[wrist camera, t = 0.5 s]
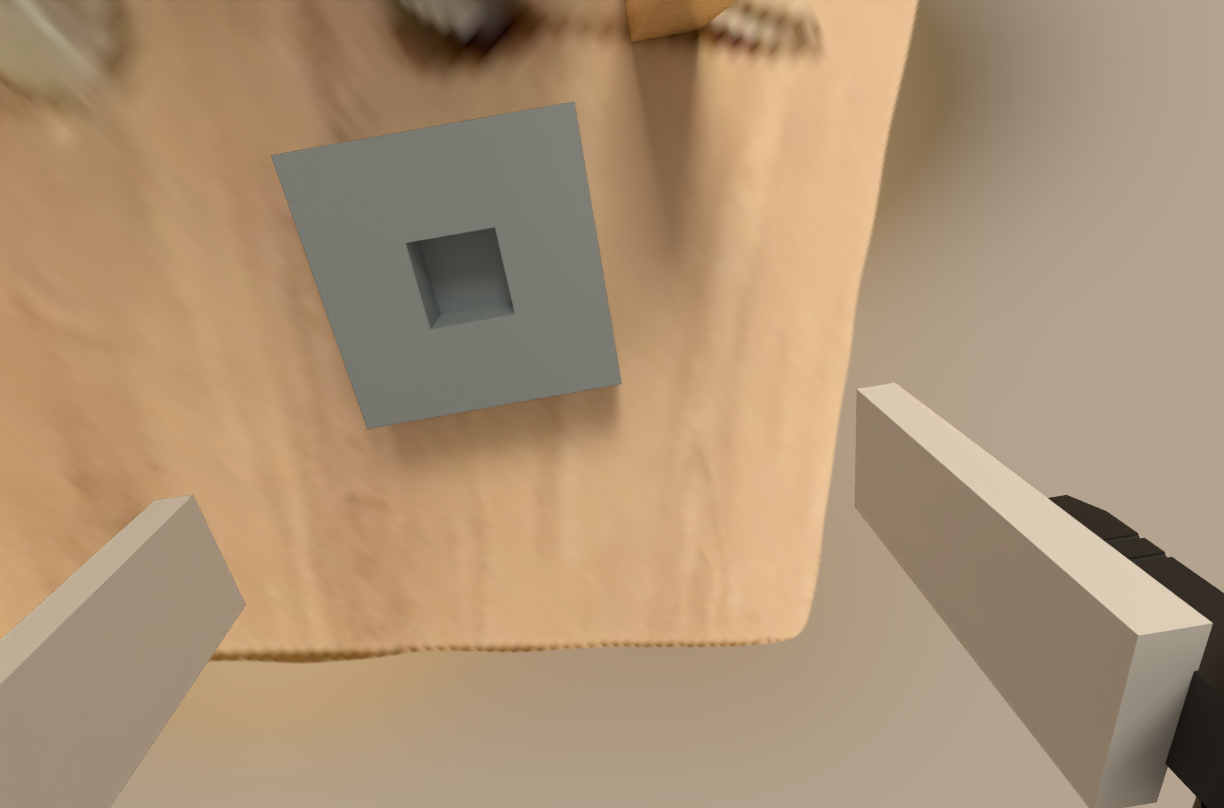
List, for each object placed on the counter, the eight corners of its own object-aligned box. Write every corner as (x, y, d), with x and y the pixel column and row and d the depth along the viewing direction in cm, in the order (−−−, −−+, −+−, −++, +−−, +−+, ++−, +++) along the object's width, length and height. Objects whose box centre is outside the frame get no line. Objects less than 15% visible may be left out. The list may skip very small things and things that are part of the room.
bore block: (300, 153, 32) (271, 155, 29) (573, 105, 32) (574, 101, 29) (384, 404, 37) (367, 429, 34) (616, 362, 38) (621, 383, 34)
